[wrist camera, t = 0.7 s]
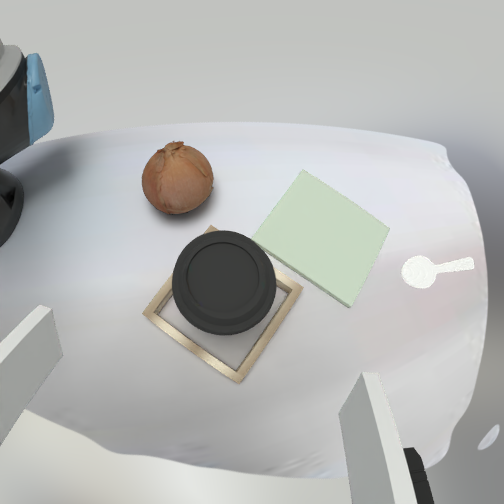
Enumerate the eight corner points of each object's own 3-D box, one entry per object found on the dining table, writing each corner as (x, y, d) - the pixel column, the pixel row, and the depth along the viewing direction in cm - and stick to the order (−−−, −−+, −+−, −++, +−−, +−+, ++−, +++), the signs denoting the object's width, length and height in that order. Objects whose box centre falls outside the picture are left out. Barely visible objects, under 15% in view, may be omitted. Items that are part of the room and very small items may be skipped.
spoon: (475, 277, 43) (477, 276, 43) (403, 292, 41) (405, 292, 40) (468, 249, 45) (470, 248, 44) (396, 258, 43) (398, 257, 42)
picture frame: (146, 316, 36) (142, 313, 34) (211, 232, 41) (210, 224, 38) (237, 382, 35) (239, 384, 32) (298, 291, 39) (303, 287, 37)
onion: (171, 187, 46) (156, 130, 39) (227, 191, 44) (218, 128, 36) (141, 227, 40) (117, 164, 32) (202, 235, 37) (185, 165, 30)
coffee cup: (246, 261, 40) (260, 210, 26) (268, 327, 37) (297, 312, 23) (179, 281, 38) (155, 238, 24) (199, 349, 36) (185, 347, 22)
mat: (250, 241, 41) (251, 238, 40) (301, 172, 45) (303, 169, 44) (348, 307, 39) (351, 306, 38) (386, 231, 44) (389, 228, 43)
